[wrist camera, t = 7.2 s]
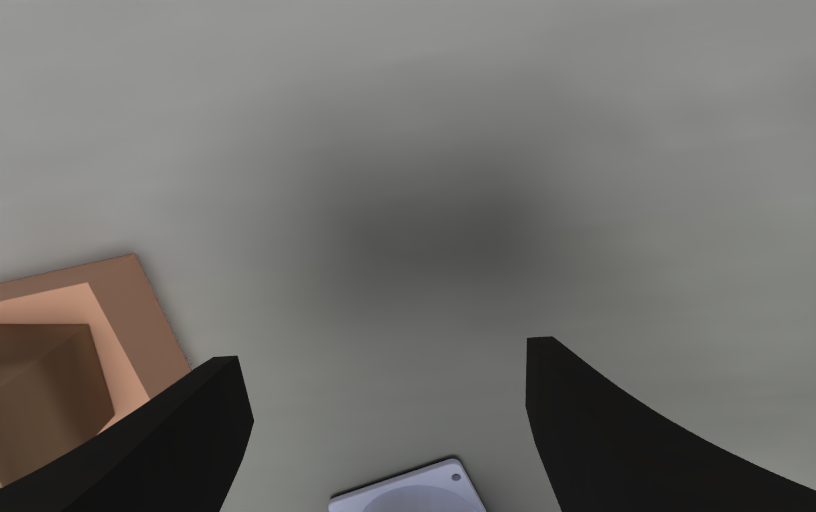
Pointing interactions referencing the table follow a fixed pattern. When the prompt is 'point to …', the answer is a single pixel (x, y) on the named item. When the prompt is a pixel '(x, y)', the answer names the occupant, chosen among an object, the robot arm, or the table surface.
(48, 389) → the walnut block
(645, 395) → the table surface
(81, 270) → the base block
